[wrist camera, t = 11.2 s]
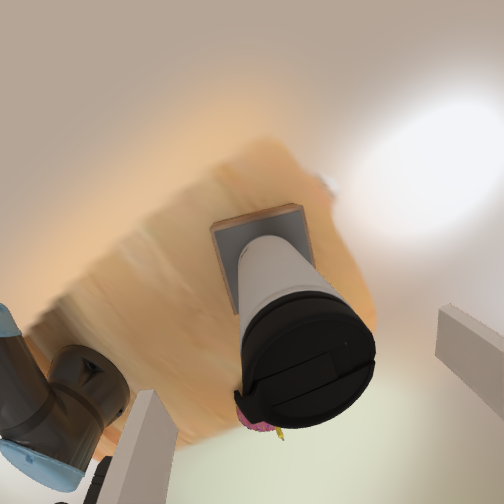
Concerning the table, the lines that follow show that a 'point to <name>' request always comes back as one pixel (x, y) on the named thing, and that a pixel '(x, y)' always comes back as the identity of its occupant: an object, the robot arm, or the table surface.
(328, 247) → the table surface
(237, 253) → the walnut stand
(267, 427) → the cupcake
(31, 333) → the table surface
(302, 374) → the travel mug
